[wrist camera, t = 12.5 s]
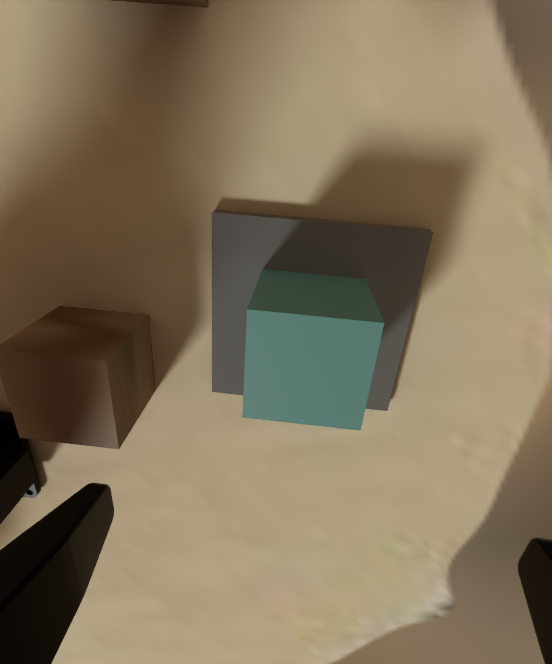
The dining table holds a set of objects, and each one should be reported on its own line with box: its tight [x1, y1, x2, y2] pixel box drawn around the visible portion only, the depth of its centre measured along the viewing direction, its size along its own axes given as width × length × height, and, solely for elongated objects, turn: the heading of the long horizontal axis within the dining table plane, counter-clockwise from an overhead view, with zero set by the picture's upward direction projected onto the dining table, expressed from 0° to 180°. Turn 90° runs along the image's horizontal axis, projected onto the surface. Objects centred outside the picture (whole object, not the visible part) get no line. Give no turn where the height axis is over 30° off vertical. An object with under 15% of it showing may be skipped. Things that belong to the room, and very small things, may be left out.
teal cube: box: [242, 269, 384, 430], centre depth 16 cm, size 4×4×4 cm
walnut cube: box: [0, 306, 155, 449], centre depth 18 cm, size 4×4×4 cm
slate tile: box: [212, 210, 433, 411], centre depth 18 cm, size 9×9×1 cm
